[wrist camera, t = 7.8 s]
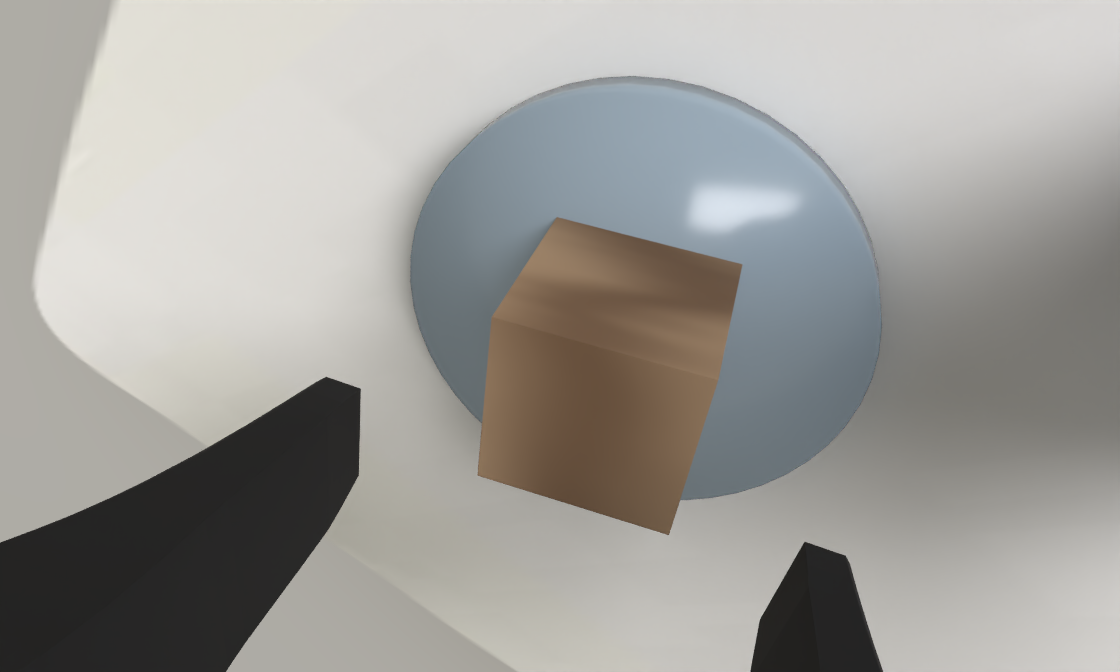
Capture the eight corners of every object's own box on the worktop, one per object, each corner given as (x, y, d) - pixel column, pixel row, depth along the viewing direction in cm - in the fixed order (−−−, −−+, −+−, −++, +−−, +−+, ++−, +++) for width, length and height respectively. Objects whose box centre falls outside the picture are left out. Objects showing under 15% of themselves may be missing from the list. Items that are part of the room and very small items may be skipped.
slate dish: (975, 165, 17) (983, 187, 16) (778, 522, 24) (775, 552, 23) (450, 14, 18) (429, 27, 17) (414, 394, 26) (397, 418, 25)
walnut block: (742, 264, 18) (717, 379, 15) (698, 407, 21) (668, 534, 18) (557, 216, 19) (491, 317, 16) (537, 361, 22) (477, 475, 18)
